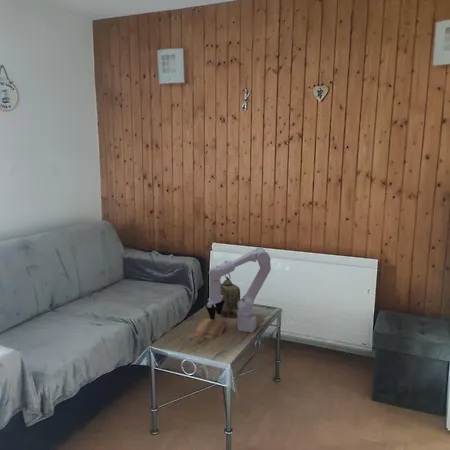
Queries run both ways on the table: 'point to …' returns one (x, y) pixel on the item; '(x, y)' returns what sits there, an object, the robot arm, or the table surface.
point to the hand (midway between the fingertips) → (215, 316)
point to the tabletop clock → (230, 296)
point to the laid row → (205, 335)
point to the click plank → (211, 326)
